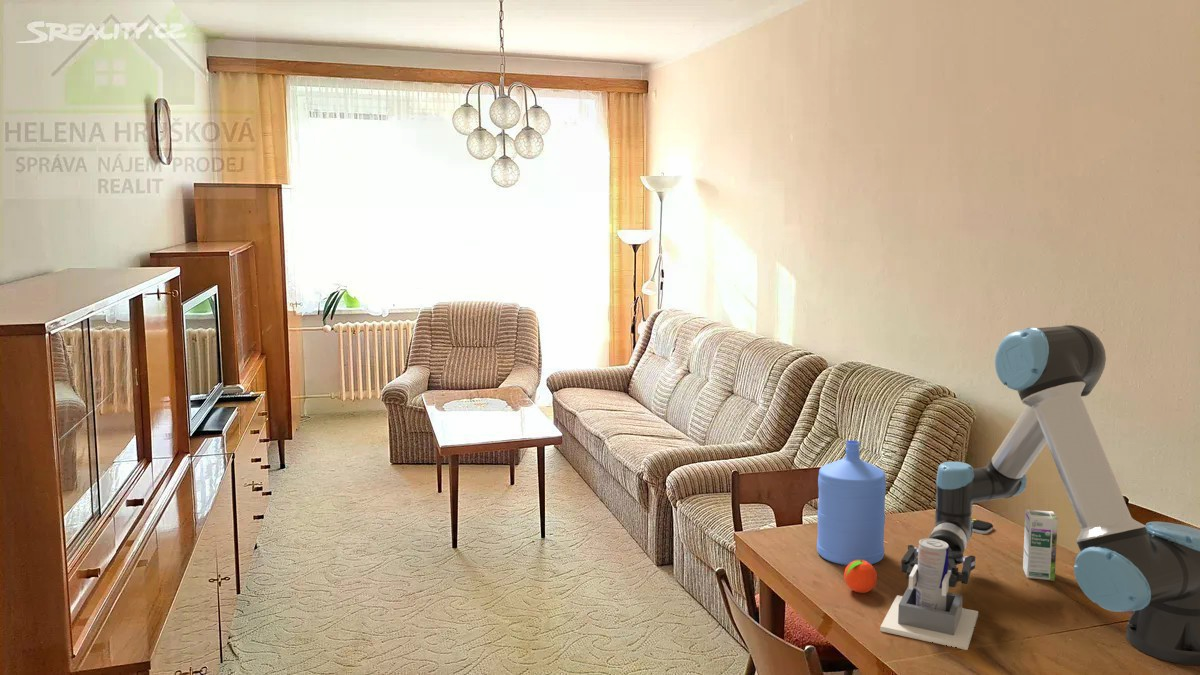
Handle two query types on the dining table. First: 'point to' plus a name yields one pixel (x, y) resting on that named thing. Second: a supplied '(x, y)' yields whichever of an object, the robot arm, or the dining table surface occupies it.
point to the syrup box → (1040, 544)
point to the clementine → (860, 576)
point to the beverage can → (931, 573)
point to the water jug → (851, 509)
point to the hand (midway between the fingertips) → (927, 585)
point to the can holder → (931, 620)
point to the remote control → (981, 526)
